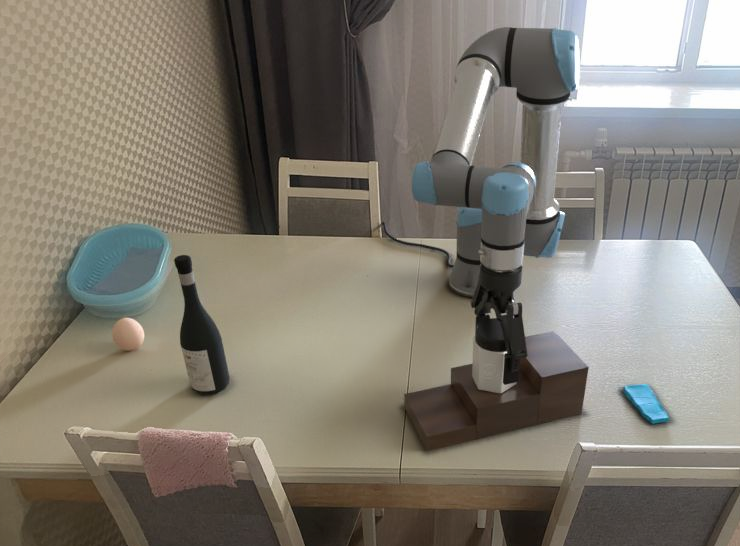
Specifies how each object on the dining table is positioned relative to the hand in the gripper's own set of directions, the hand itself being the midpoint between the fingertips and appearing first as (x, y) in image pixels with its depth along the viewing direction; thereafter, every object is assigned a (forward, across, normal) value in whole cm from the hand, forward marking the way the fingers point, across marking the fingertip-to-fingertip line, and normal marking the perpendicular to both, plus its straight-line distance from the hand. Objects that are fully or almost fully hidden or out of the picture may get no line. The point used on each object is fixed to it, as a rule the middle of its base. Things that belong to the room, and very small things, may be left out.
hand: (495, 362), depth 131 cm
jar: (+4, 0, 0) cm, 4 cm away
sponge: (+12, +9, +30) cm, 33 cm away
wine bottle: (+12, -28, -53) cm, 61 cm away
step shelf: (+12, 0, 0) cm, 12 cm away
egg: (+12, -49, -69) cm, 85 cm away
